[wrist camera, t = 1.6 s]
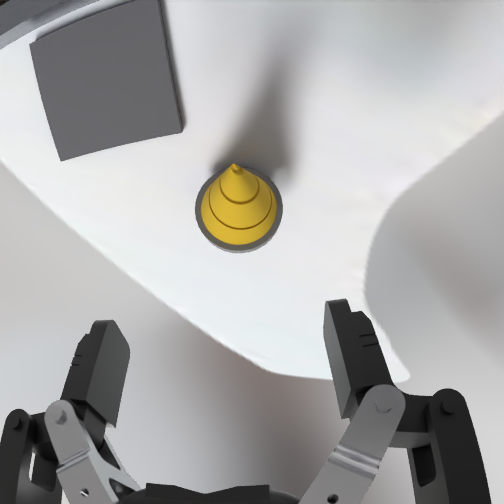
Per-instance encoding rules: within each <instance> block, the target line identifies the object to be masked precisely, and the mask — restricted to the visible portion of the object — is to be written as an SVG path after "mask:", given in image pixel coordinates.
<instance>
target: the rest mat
mask: <svg viewBox="0 0 504 504" xmlns="http://www.w3.org/2000/svg"><path fill="white" fill-rule="evenodd" d="M29 45H30V50H31V55H32V60H33V65H34V69H35V74H36V78H37V82H38V86H39V90H40V94H41V98H42V102H43V106H44V109H45V113H46V116H47V120H48V123H49V126H50V130H51V133H52V136H53V139H54V143H55V146H56V149H57V152H58V155H59V158H60V161H64V160H68V159H71V158H75V157H78V156H82V155H85V154H89V153H93V152H96V151H100V150H104V149H108V148H112V147H116V146H120V145H125V144H129V143H133V142H138V141H142V140H147V139H152V138H157V137H162V136H167V135H172V134H178V133H182V131H183V127H182V122H181V117H180V112H179V107H178V102H177V97H176V92H175V86H174V81H173V76H172V70H171V65H170V59H169V54H168V48H167V42H166V37H165V31H164V25H163V18H162V12H161V6H160V0H136V1H133V2H129V3H126V4H123V5H120V6H117V7H114V8H111V9H108V10H105V11H103V12H100V13H97V14H95V15H92V16H89V17H87V18H84V19H82V20H80V21H77V22H75V23H72V24H70V25H68V26H66V27H63V28H61V29H59V30H57V31H55V32H53V33H50V34H48V35H46V36H44V37H42V38H40V39H38V40H36V41H35V42H33V43H31V44H29Z"/></svg>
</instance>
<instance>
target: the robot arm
mask: <svg viewBox="0 0 504 504" xmlns="http://www.w3.org/2000/svg"><path fill="white" fill-rule="evenodd" d="M323 332H324V341H325V346H326V350H327V355H328V359H329V363H330V368H331V372H332V377H333V381H334V385H335V390H336V395H337V400H338V405H339V409H340V414H341V419H345V418H349V419H350V424H349V426H348V428H347V430H346V432H345V433H344V435H343V437H342V439H341V440H340V442H339V444H338V445H337V447H336V448H335V449H334V451H333V452H332V454H331V455H330V457H329V458H328V460H327V462H326V463H325V465H324V466H323V468H322V469H321V471H320V472H319V474H318V476H317V477H316V479H315V480H314V482H313V483H312V485H311V486H310V487H309V489H308V490H307V492H306V493H305V495H304V496H303V498H302V499H299V498H298V497H296V496H294V495H292V494H289V493H286V492H283V491H279V490H274V489H271V488H270V486H269V485H256V486H237V487H233V488H229V489H225V490H221V491H216V492H212V493H208V494H202V493H199V492H195V491H192V490H188V489H184V488H181V487H178V486H175V485H162V484H152V483H146V489H141V488H140V486H139V485H138V484H137V482H136V481H135V480H134V479H133V478H132V477H131V476H130V475H129V474H128V473H127V471H126V470H125V468H124V467H123V465H122V463H121V461H120V460H119V458H118V456H117V455H116V453H115V451H114V449H113V447H112V445H111V443H110V442H109V440H108V438H107V436H106V435H105V428H106V427H110V428H116V423H117V417H118V412H119V407H120V401H121V396H122V391H123V386H124V381H125V377H126V372H127V367H128V363H129V359H130V349H129V345H128V343H127V341H126V339H125V338H124V336H123V334H122V333H121V331H120V329H119V328H118V326H117V324H116V323H115V321H114V320H101V321H100V320H99V321H95V322H94V323H93V325H92V328H91V331H90V333H89V334H85V336H84V337H83V338H82V340H81V341H80V342H79V343H78V346H77V349H76V352H75V357H74V358H73V360H72V366H70V369H69V373H68V376H67V379H66V382H65V385H64V389H63V392H62V395H61V398H60V400H58V401H55V402H53V403H52V404H51V405H50V406H49V407H48V408H47V410H46V412H43V413H38V414H34V415H29V414H28V413H27V412H25V411H24V410H22V409H15V410H13V411H12V412H11V413H10V414H9V415H8V416H7V418H6V421H5V425H4V429H3V434H2V437H1V442H0V504H61V500H62V489H63V490H64V492H65V495H66V497H67V499H68V501H69V503H70V504H360V503H361V501H362V500H363V498H364V496H365V494H366V493H367V491H368V489H369V487H370V485H371V484H372V482H373V480H374V478H375V476H376V474H377V472H378V469H379V465H380V462H381V460H382V458H383V456H384V454H385V452H386V450H387V448H388V447H395V448H407V453H408V459H409V464H410V469H411V475H412V482H413V488H414V495H415V502H416V504H491V498H490V493H489V488H488V483H487V478H486V473H485V469H484V465H483V460H482V456H481V452H480V448H479V445H478V441H477V437H476V434H475V430H474V427H473V423H472V420H471V417H470V414H469V410H468V407H467V404H466V402H465V399H464V397H463V396H462V395H461V394H460V393H459V392H458V391H456V390H453V389H442V390H439V391H437V392H436V393H435V394H434V395H433V396H418V395H409V394H406V393H404V392H402V391H400V390H399V389H398V388H397V387H396V386H395V385H394V383H393V382H392V379H391V376H390V373H389V370H388V367H387V364H386V362H385V359H384V356H383V353H382V350H381V347H380V345H379V341H378V339H377V336H376V335H375V330H374V328H373V325H372V322H371V320H370V319H369V318H368V317H367V316H366V315H365V314H364V313H363V312H362V311H358V312H351V309H350V306H349V304H348V301H347V299H339V300H332V301H326V303H325V314H324V326H323ZM32 452H33V453H35V460H34V466H33V473H32V480H31V481H30V478H29V469H30V462H31V457H32Z"/></svg>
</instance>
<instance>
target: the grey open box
mask: <svg viewBox="0 0 504 504" xmlns="http://www.w3.org/2000/svg"><path fill="white" fill-rule="evenodd" d="M96 1H99V0H9V1H8V2H6V3H5V4H3V5H2V6H1V2H0V49H2V48H4V47H5V46H7V45H8V44H10V43H12V42H13V41H15V40H17V39H19V38H20V37H22V36H24V35H26V34H27V33H29V32H31V31H33V30H35V29H37V28H39V27H40V26H42V25H44V24H46V23H48V22H50V21H52V20H54V19H57V18H59V17H61V16H63V15H65V14H67V13H70V12H72V11H74V10H76V9H79V8H81V7H84V6H86V5H89V4H91V3H94V2H96Z"/></svg>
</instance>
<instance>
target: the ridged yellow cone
mask: <svg viewBox="0 0 504 504" xmlns="http://www.w3.org/2000/svg"><path fill="white" fill-rule="evenodd" d="M282 213H283V204H282V199H281V195H280V193H279V190H278V189H277V187H276V186H275V184H274V183H273V182H272V181H271V180H270V179H269V178H268V177H267V176H266V175H264V174H263V173H261V172H259V171H257V170H254V169H251V168H246V167H239V166H238V165H236V164H232V165H231V166H230V167H229V168H227V169H225V170H222V171H220V172H218V173H216V174H214V175H213V176H212V177H211V178H209V179H208V180H207V181H206V182H205V184H204V185H203V186H202V188H201V189H200V191H199V193H198V196H197V199H196V204H195V214H196V220H197V223H198V226H199V228H200V229H201V231H202V233H203V234H204V236H205V237H206V238H207V239H208V240H209V241H210V243H212V244H213V245H214V246H216V247H217V248H219V249H222V250H224V251H227V252H231V253H246V252H251V251H254V250H257V249H259V248H260V247H262V246H264V245H265V244H266V243H267V242H268V241H270V240H271V239H272V237H273V236H274V234H275V233H276V231H277V229H278V227H279V225H280V222H281V218H282Z"/></svg>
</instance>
